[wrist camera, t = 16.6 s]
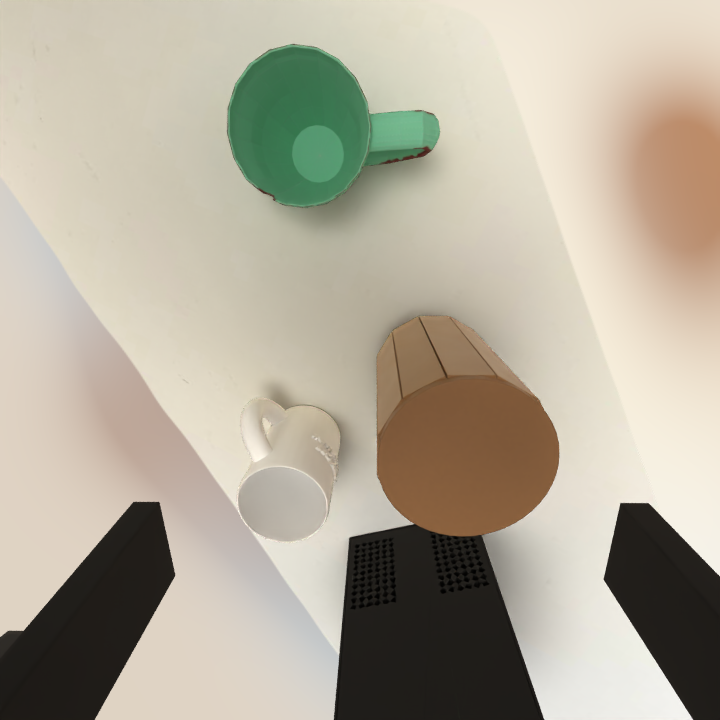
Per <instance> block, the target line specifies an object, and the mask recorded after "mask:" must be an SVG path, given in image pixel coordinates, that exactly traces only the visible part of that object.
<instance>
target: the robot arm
mask: <svg viewBox="0 0 720 720" xmlns="http://www.w3.org/2000/svg"><path fill="white" fill-rule="evenodd" d="M174 577H175V572H174V567H173V562H172V558H171V553H170V549H169V544H168V540H167V535H166V530H165V526H164V521H163V517H162V512H161V507H160V503H159V502H133V503H132V504H131V506H130V507H129V508H128V509H127V510H126V512H125V513H124V514H123V515H122V516H121V517H120V519H119V520H118V521H117V522H116V523H115V524H114V526H113V527H112V528H111V529H110V530H109V531H108V533H107V534H106V535H105V536H104V537H103V539H102V540H101V541H100V542H99V543H98V544H97V546H96V547H95V548H94V549H93V550H92V551H91V553H90V554H89V555H88V556H87V557H86V558H85V560H84V561H83V562H82V563H81V564H80V565H79V567H78V568H77V569H76V570H75V571H74V573H73V574H72V575H71V576H70V577H69V578H68V579H67V581H66V582H65V583H64V584H63V586H62V587H61V588H60V589H59V590H58V591H57V592H56V594H55V595H54V596H53V597H52V598H51V599H50V601H49V602H48V603H47V604H46V605H45V606H44V608H43V609H42V610H41V611H40V612H39V614H38V615H37V616H36V617H35V618H34V619H33V621H32V622H31V623H30V624H29V625H28V627H27V628H26V629H25V630H24V631H8V632H6V633H5V634H4V635H3V636H1V637H0V720H95V718H96V716H97V715H98V713H99V711H100V709H101V707H102V706H103V704H104V702H105V700H106V698H107V697H108V695H109V693H110V691H111V689H112V688H113V686H114V684H115V682H116V680H117V679H118V677H119V675H120V673H121V672H122V670H123V668H124V666H125V664H126V662H127V661H128V659H129V657H130V656H131V654H132V652H133V650H134V648H135V647H136V645H137V643H138V641H139V639H140V638H141V636H142V634H143V632H144V631H145V629H146V627H147V625H148V623H149V622H150V620H151V618H152V616H153V614H154V612H155V611H156V609H157V607H158V605H159V604H160V602H161V600H162V598H163V597H164V595H165V593H166V591H167V589H168V588H169V586H170V584H171V582H172V580H173V579H174ZM604 581H605V582H606V584H607V586H608V587H609V589H610V590H611V592H612V593H613V595H614V596H615V598H616V600H617V601H618V603H619V604H620V606H621V607H622V609H623V611H624V612H625V614H626V615H627V617H628V618H629V620H630V622H631V623H632V625H633V626H634V628H635V629H636V631H637V632H638V634H639V636H640V637H641V639H642V640H643V642H644V643H645V645H646V647H647V648H648V650H649V651H650V653H651V654H652V656H653V658H654V659H655V661H656V662H657V664H658V665H659V667H660V668H661V670H662V672H663V673H664V675H665V676H666V678H667V679H668V681H669V683H670V684H671V686H672V687H673V689H674V690H675V692H676V694H677V695H678V697H679V698H680V700H681V701H682V703H683V704H684V706H685V708H686V709H687V711H688V712H689V714H690V715H691V717H692V719H693V720H720V576H719V575H718V574H717V573H716V572H715V571H714V570H713V569H712V568H711V567H710V566H709V565H708V564H707V563H706V562H705V561H704V560H703V559H702V558H701V557H700V556H699V555H698V554H697V553H696V552H695V551H694V550H693V549H692V548H691V546H689V544H688V543H687V542H686V541H685V540H684V539H683V538H682V537H681V536H680V535H679V534H678V533H677V532H676V531H675V530H674V529H673V528H672V527H671V526H670V525H669V524H668V523H667V522H666V521H665V520H664V519H663V518H662V517H661V515H660V514H659V513H658V512H657V511H656V510H655V509H654V508H653V507H652V506H651V505H650V504H649V503H620V508H619V512H618V517H617V521H616V526H615V530H614V535H613V539H612V544H611V549H610V553H609V558H608V562H607V567H606V571H605V576H604Z"/></svg>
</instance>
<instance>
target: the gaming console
mask: <svg viewBox="0 0 720 720" xmlns="http://www.w3.org/2000/svg"><path fill="white" fill-rule="evenodd" d="M334 720H544V718H543V715H542V712H541V709H540V706H539V703H538V700H537V697H536V694H535V691H534V688H533V685H532V683H531V680H530V677H529V674H528V671H527V668H526V665H525V662H524V659H523V656H522V653H521V650H520V647H519V644H518V641H517V639H516V636H515V633H514V630H513V627H512V624H511V621H510V618H509V615H508V612H507V609H506V606H505V603H504V600H503V598H502V595H501V592H500V589H499V586H498V583H497V580H496V577H495V574H494V571H493V568H492V565H491V562H490V559H489V556H488V554H487V551H486V548H485V545H484V542H483V539H482V536H481V535H476V536H449V535H444V534H439V533H436V532H432V531H429V530H427V529H424V528H422V527H420V526H418V525H411V526H406V527H401V528H396V529H391V530H386V531H381V532H376V533H371V534H366V535H361V536H356V537H351V538H349V550H348V561H347V573H346V585H345V596H344V608H343V619H342V631H341V643H340V654H339V667H338V678H337V689H336V701H335V713H334Z"/></svg>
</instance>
